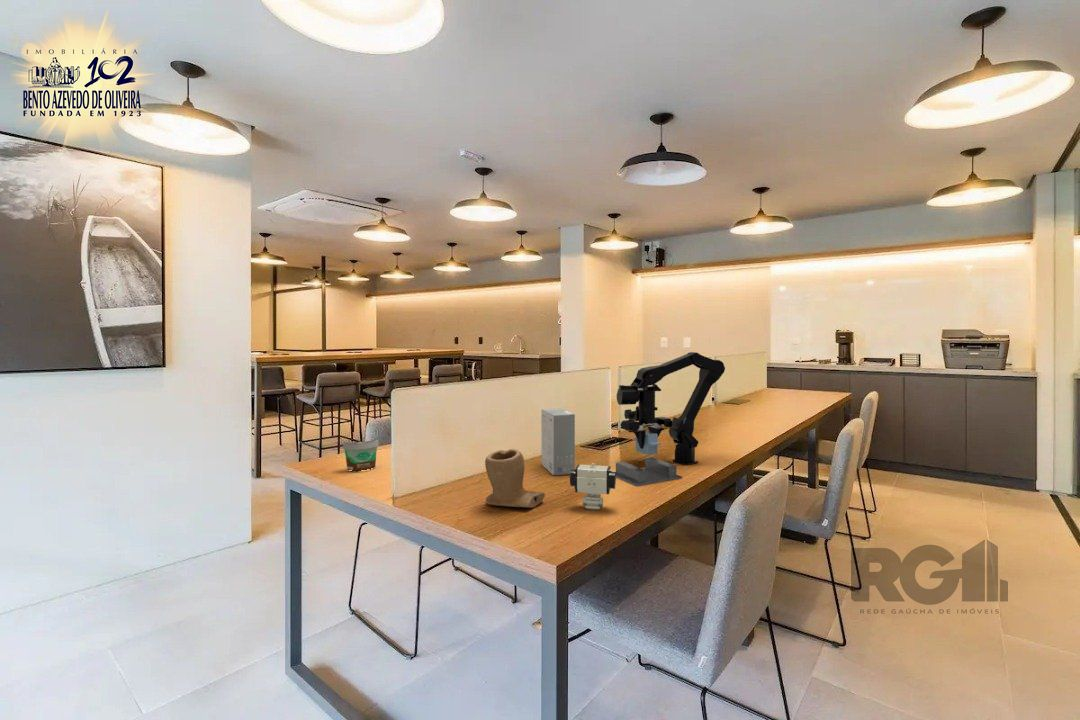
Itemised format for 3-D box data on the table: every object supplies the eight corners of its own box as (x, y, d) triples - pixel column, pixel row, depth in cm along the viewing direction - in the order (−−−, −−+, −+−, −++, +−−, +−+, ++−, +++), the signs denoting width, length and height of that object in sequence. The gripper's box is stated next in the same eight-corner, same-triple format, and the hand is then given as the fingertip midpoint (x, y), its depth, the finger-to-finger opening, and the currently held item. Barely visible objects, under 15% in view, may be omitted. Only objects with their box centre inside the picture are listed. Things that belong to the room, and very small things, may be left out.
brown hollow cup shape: (477, 509, 132) (476, 453, 131) (495, 496, 143) (495, 444, 142) (531, 516, 127) (530, 458, 126) (545, 501, 138) (545, 447, 137)
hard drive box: (575, 474, 164) (575, 414, 163) (553, 476, 162) (553, 415, 161) (561, 462, 179) (561, 407, 178) (540, 464, 177) (540, 408, 176)
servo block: (632, 449, 180) (632, 430, 180) (641, 448, 182) (641, 429, 181) (652, 456, 170) (652, 436, 170) (661, 455, 172) (661, 434, 172)
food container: (350, 475, 165) (349, 445, 164) (343, 471, 169) (342, 442, 169) (385, 468, 173) (384, 439, 172) (377, 465, 177) (377, 437, 177)
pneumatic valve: (572, 503, 136) (572, 460, 135) (615, 506, 133) (615, 462, 133) (569, 510, 131) (569, 465, 130) (614, 513, 128) (614, 467, 127)
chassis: (653, 468, 171) (653, 456, 171) (682, 478, 159) (682, 465, 158) (610, 474, 163) (610, 462, 163) (636, 486, 151) (636, 473, 150)
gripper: (652, 399, 186) (652, 441, 187) (611, 402, 178) (611, 446, 179) (673, 403, 176) (672, 446, 177) (630, 406, 168) (630, 452, 169)
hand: (646, 447), depth 176 cm, fingers closed on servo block, 4 cm apart
